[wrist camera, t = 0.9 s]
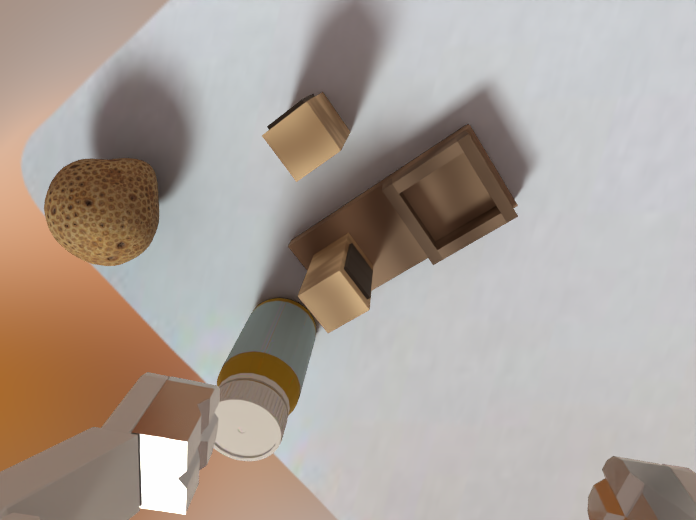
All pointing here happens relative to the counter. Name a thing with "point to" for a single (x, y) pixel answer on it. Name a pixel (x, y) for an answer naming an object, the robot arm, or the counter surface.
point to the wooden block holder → (401, 226)
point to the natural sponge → (104, 209)
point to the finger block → (307, 135)
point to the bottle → (263, 379)
